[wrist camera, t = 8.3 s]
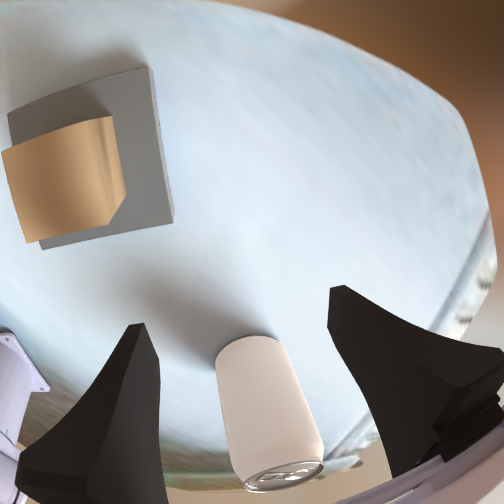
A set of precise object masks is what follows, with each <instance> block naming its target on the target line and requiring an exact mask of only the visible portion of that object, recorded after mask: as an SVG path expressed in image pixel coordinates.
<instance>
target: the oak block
mask: <svg viewBox="0 0 504 504" xmlns="http://www.w3.org/2000/svg"><path fill="white" fill-rule="evenodd" d="M1 154H2V159H3V164H4V168H5V172H6V176H7V181H8V184H9V188H10V192H11V196H12V199H13V203H14V206H15V209H16V213H17V216H18V219H19V222H20V225H21V228H22V231H23V234H24V237H25V239H26V242H27V243H30V242H34V241H38V240H42V239H47V238H51V237H55V236H59V235H63V234H68V233H72V232H76V231H81V230H85V229H90V228H94V227H99V226H103V225H108V224H109V222H110V221H111V219H112V217H113V216H114V214H115V212H116V211H117V209H118V207H119V206H120V204H121V203H122V201H123V199H124V198H125V196H126V195H127V193H126V188H125V183H124V179H123V174H122V169H121V164H120V159H119V154H118V148H117V142H116V137H115V131H114V125H113V118H112V116H109V117H103V118H97V119H92V120H87V121H83V122H80V123H77V124H73V125H70V126H67V127H64V128H61V129H58V130H55V131H52V132H49V133H47V134H44V135H41V136H38V137H36V138H33V139H31V140H28V141H26V142H23V143H21V144H18V145H16V146H13V147H11V148H9V149H6V150H4V151H2V152H1Z"/></svg>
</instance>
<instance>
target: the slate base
mask: <svg viewBox="0 0 504 504" xmlns="http://www.w3.org/2000/svg"><path fill="white" fill-rule="evenodd" d="M7 116H8V122H9V129H10V135H11V140H12V146H16V145H18V144H21V143H23V142H26V141H28V140H31V139H33V138H36V137H38V136H41V135H44V134H47V133H49V132H52V131H55V130H58V129H61V128H64V127H67V126H70V125H73V124H77V123H80V122H83V121H87V120H92V119H97V118H103V117H109V116H112V118H113V125H114V131H115V137H116V142H117V148H118V154H119V159H120V164H121V169H122V174H123V179H124V183H125V188H126V193H127V195H126V196H125V198H124V199H123V201H122V203H121V204H120V206H119V207H118V209H117V211H116V212H115V214H114V216H113V217H112V219H111V221H110V222H109V224H108V225H103V226H99V227H94V228H90V229H85V230H81V231H76V232H72V233H68V234H63V235H59V236H55V237H51V238H47V239H42V240H39V243H40V246H41V248H42V250H46V249H50V248H54V247H59V246H63V245H68V244H72V243H77V242H81V241H86V240H91V239H95V238H100V237H105V236H110V235H114V234H119V233H124V232H129V231H134V230H140V229H145V228H150V227H155V226H161V225H166V224H171V223H173V221H174V212H175V211H174V206H173V201H172V196H171V190H170V185H169V179H168V173H167V168H166V162H165V156H164V150H163V143H162V137H161V130H160V124H159V117H158V109H157V102H156V94H155V86H154V78H153V70H152V69H150V68H149V67H143V68H139V69H134V70H130V71H126V72H122V73H118V74H114V75H110V76H107V77H103V78H100V79H96V80H93V81H90V82H87V83H83V84H80V85H77V86H74V87H71V88H68V89H66V90H63V91H60V92H57V93H55V94H52V95H49V96H47V97H44V98H42V99H39V100H37V101H34V102H32V103H30V104H27V105H25V106H23V107H20V108H18V109H16V110H14V111H12V112H10V113H8V114H7Z"/></svg>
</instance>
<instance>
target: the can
mask: <svg viewBox="0 0 504 504" xmlns="http://www.w3.org/2000/svg"><path fill="white" fill-rule="evenodd" d="M215 370H216V377H217V384H218V391H219V397H220V403H221V409H222V415H223V421H224V426H225V432H226V437H227V443H228V448H229V453H230V458H231V462H232V466H233V469H234V471H235V473H236V474H237V475H238V477H239V478H240V479H241V480H242V481H243V488H244V489H245V490H247V491H250V492H257V493H264V492H274V491H280V490H285V489H288V488H292V487H295V486H298V485H301V484H303V483H306V482H308V481H310V480H312V479H313V478H315V477H317V476H318V475H319V474H321V473H322V472H323V471H324V469H325V464H324V463H323V462H322V459H323V452H324V446H323V442H322V440H321V437H320V434H319V432H318V429H317V427H316V424H315V422H314V419H313V417H312V414H311V411H310V409H309V406H308V404H307V401H306V399H305V397H304V394H303V392H302V389H301V387H300V384H299V382H298V379H297V377H296V374H295V372H294V369H293V367H292V364H291V362H290V359H289V357H288V355H287V352H286V350H285V348H284V346H283V345H282V344H281V343H280V342H279V341H277V340H275V339H273V338H270V337H266V336H260V335H252V336H246V337H242V338H239V339H237V340H234V341H233V342H231V343H229V344H228V345H227V346H226V347H224V349H222V351H221V352H220V353H219V354H218V356H217V358H216V361H215Z"/></svg>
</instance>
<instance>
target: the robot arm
mask: <svg viewBox="0 0 504 504" xmlns="http://www.w3.org/2000/svg"><path fill="white" fill-rule="evenodd" d="M327 328H328V330H329V333H330V335H331V337H332V340H333V342H334V344H335V347H336V349H337V350H338V352H339V354H340V355H341V357H342V359H343V361H344V362H345V364H346V366H347V367H348V369H349V371H350V372H351V374H352V376H353V377H354V379H355V381H356V382H357V384H358V386H359V387H360V389H361V391H362V393H363V395H364V397H365V399H366V402H367V404H368V406H369V409H370V411H371V413H372V416H373V419H374V421H375V424H376V426H377V429H378V431H379V434H380V437H381V440H382V443H383V446H384V449H385V452H386V456H387V459H388V463H389V466H390V470H391V474H392V478H393V479H392V480H390V481H388V482H385V483H383V484H381V485H378V486H376V487H374V488H372V489H369V490H367V491H364V492H362V493H359V494H356V495H354V496H351V497H348V498H346V499H343V500H340V501H337V502H334V503H331V504H384V503H386V502H389V501H391V500H393V499H395V498H397V497H399V496H401V495H403V494H405V493H407V492H409V491H411V490H413V489H414V490H413V491H412V492H410V493H409V494H407V495H405V496H404V497H402V498H400V499H398V500H396V501H395V502H393V503H391V504H477V503H479V502H480V501H481V500H482V499H483V498H485V497H486V496H487V495H488V494H489V493H490V492H492V491H493V490H494V489H495V488H496V487H497V486H498V485H499V484H500V483H501V482H502V481H504V405H503V406H502V407H500V406H499V404H498V402H499V401H500V397H499V396H498V395H497V391H498V390H499V389H500V387H501V386H502V385H503V383H504V352H503V351H502V350H501V349H500V348H495V347H488V346H480V345H474V344H470V343H465V342H461V341H457V340H454V339H450V338H447V337H444V336H441V335H438V334H435V333H432V332H430V331H427V330H425V329H423V328H420V327H418V326H416V325H413V324H411V323H409V322H407V321H405V320H403V319H401V318H399V317H397V316H396V315H394V314H392V313H390V312H388V311H387V310H385V309H383V308H381V307H380V306H378V305H376V304H375V303H373V302H372V301H370V300H368V299H367V298H365V297H363V296H362V295H360V294H359V293H357V292H355V291H354V290H352V289H350V288H349V287H347V286H345V285H341V286H336V287H332V288H330V295H329V309H328V322H327ZM160 383H161V382H160V366H159V358H158V356H157V354H156V351H155V349H154V347H153V344H152V342H151V339H150V337H149V334H148V332H147V329H146V327H145V324H144V323H139V324H132V325H129V326H128V327H127V329H126V330H125V332H124V334H123V335H122V337H121V339H120V340H119V342H118V344H117V346H116V347H115V349H114V351H113V352H112V354H111V355H110V357H109V359H108V360H107V362H106V364H105V365H104V367H103V368H102V370H101V371H100V373H99V374H98V376H97V377H96V379H95V380H94V382H93V383H92V385H91V386H90V387H89V389H88V390H87V391H86V393H85V394H84V395H83V396H82V397H81V399H80V400H79V401H78V402H77V403H76V405H75V406H74V407H73V408H72V409H71V410H70V411H69V412H68V413H67V414H66V415H65V416H64V417H63V418H62V419H61V421H59V422H58V423H57V424H56V425H55V426H54V427H53V428H52V429H51V430H50V431H49V432H47V433H46V434H45V435H44V436H43V437H41V438H40V439H39V440H38V441H36V442H35V443H33V444H32V445H31V446H29V447H28V448H27V449H25V450H24V451H22V452H21V451H20V450H18V449H17V448H16V443H17V439H18V435H19V431H20V427H21V424H22V420H23V417H24V413H25V410H26V406H27V403H28V400H29V397H30V394H31V392H49V391H50V387H49V385H48V384H47V383H46V381H45V380H44V379H43V377H42V376H41V374H40V373H39V372H38V370H37V369H36V368H35V366H34V365H33V363H32V362H31V360H30V359H29V357H28V356H27V354H26V353H25V351H24V350H23V348H22V347H21V345H20V344H19V342H18V340H17V339H16V337H15V336H14V334H12V333H0V504H25V502H26V500H27V496H29V497H30V498H32V499H33V500H35V501H37V502H38V503H40V504H169V503H168V498H167V493H166V489H165V483H164V477H163V471H162V464H161V456H160V447H159V405H160Z"/></svg>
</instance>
